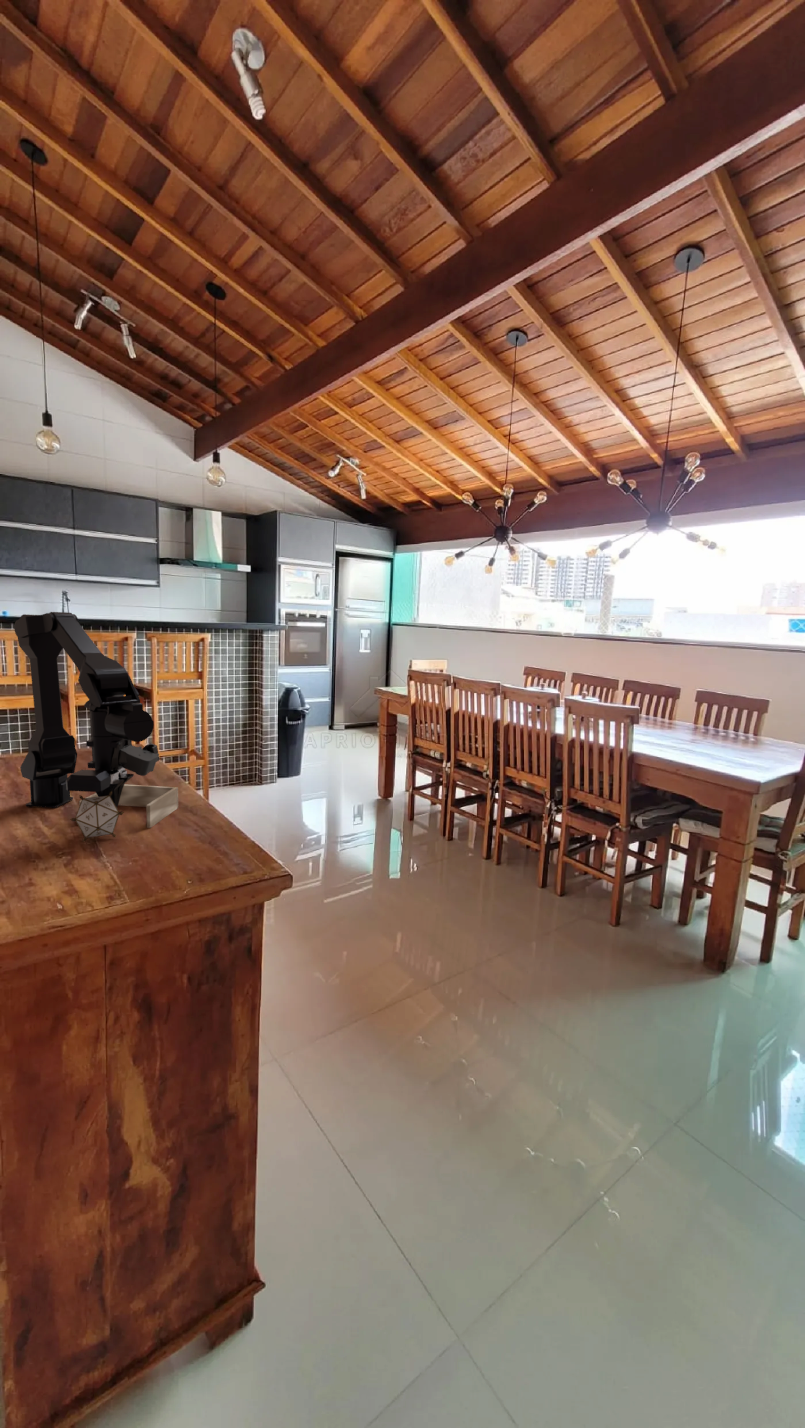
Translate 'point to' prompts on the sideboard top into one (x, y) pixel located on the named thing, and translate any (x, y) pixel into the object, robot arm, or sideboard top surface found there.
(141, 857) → the sideboard top surface
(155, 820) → the cubby
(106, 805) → the game die
